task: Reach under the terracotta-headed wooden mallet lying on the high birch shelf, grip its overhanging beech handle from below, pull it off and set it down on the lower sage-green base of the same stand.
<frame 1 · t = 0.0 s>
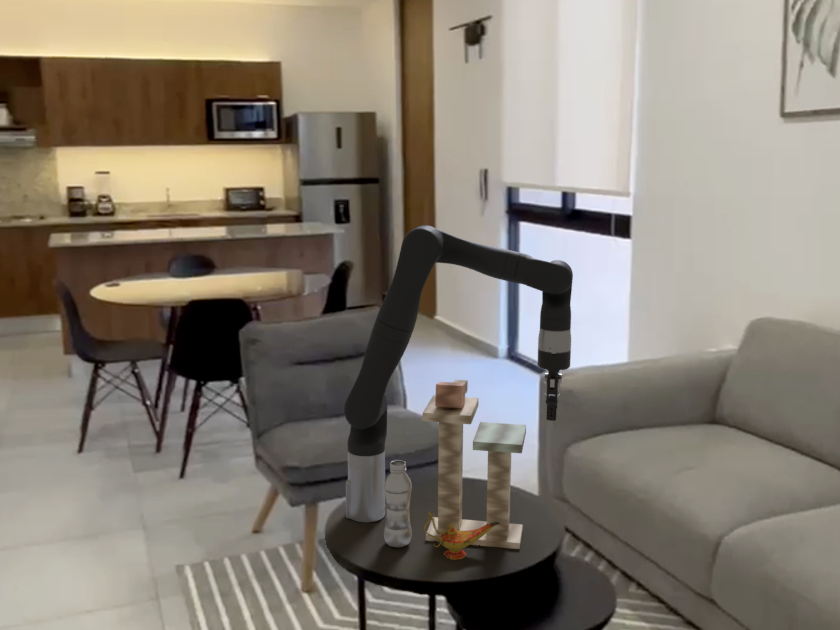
hand: (551, 414, 200), 29 cm above the table, tool pointing down, fingers open, 8 cm apart
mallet: (450, 405, 196), point 33 cm above the table, tilted 10°, touching stepped stand
stepped stand: (474, 535, 203), on the table
magic lamp: (461, 554, 194), on the table
plastic bottle: (397, 545, 198), on the table
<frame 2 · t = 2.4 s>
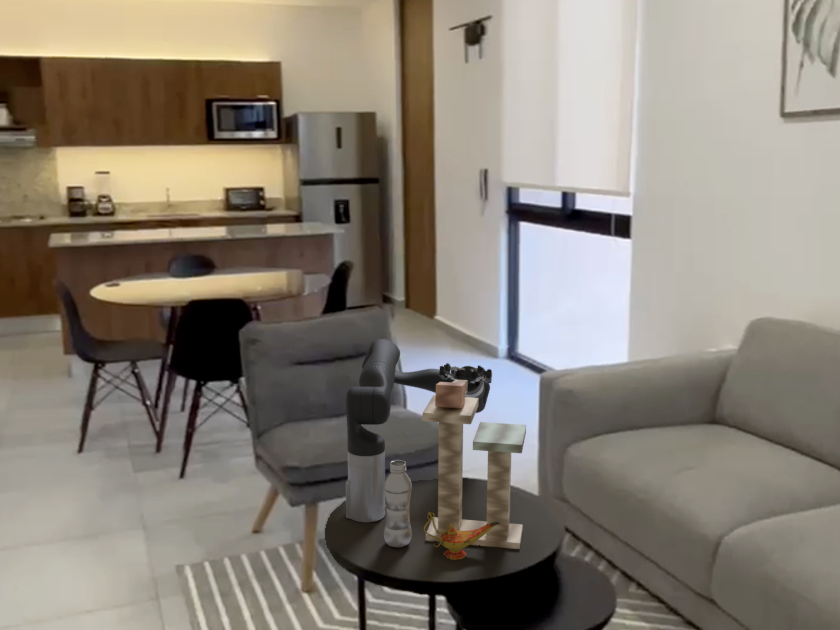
hand: (462, 367, 227), 33 cm above the table, tool pointing upward, fingers open, 8 cm apart
nothing on the table moved.
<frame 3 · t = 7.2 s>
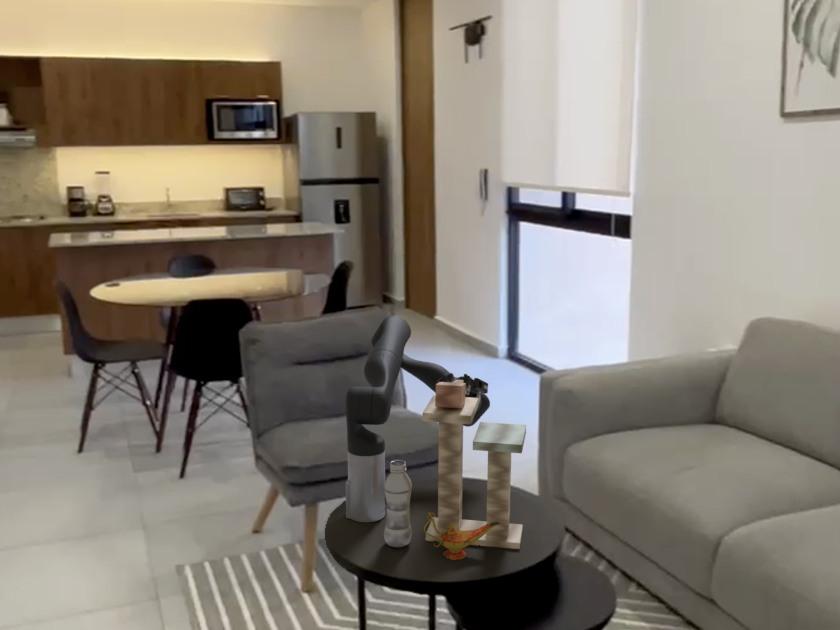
hand: (457, 377, 207), 36 cm above the table, tool pointing upward, fingers closed on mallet, 3 cm apart
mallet: (450, 405, 196), point 32 cm above the table, tilted 10°, touching gripper, stepped stand
everything else where it was.
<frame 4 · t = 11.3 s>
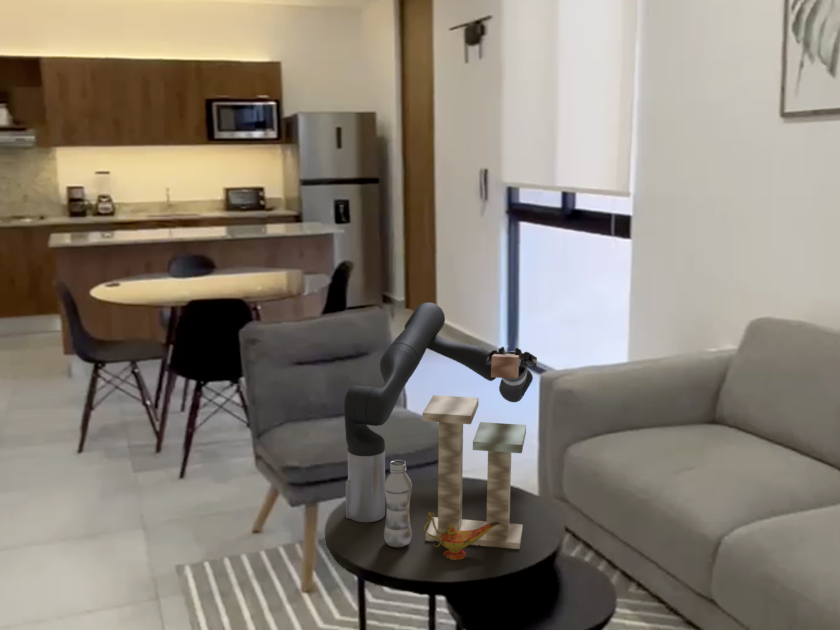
hand: (509, 350, 213), 41 cm above the table, tool pointing upward, fingers closed on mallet, 3 cm apart
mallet: (504, 376, 202), point 37 cm above the table, tilted 9°, touching gripper
everything else where it was.
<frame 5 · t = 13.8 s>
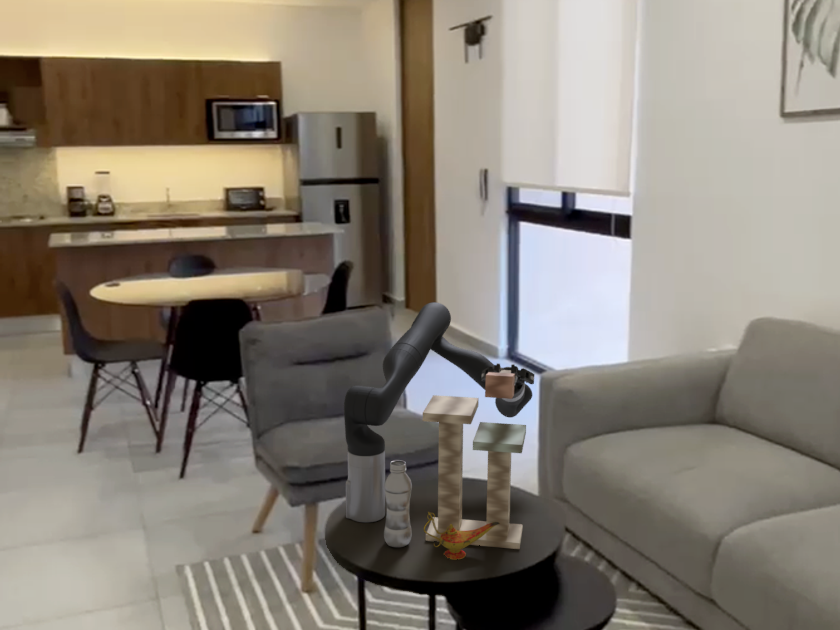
hand: (505, 367, 204), 39 cm above the table, tool pointing upward, fingers closed on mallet, 3 cm apart
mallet: (499, 396, 193), point 35 cm above the table, tilted 9°, touching gripper
everything else where it was.
when the fingers open (31 cm above the table, at t = 15.8 s): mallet stays where it is, resting on stepped stand.
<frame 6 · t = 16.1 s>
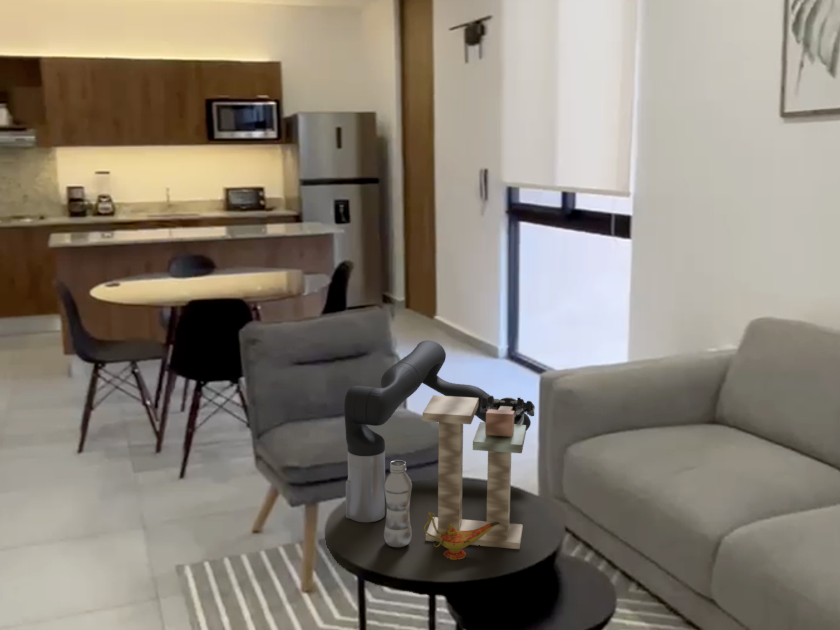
hand: (504, 400, 206), 31 cm above the table, tool pointing upward, fingers open, 6 cm apart
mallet: (499, 433, 195), point 27 cm above the table, tilted 10°, touching stepped stand
everything else where it was.
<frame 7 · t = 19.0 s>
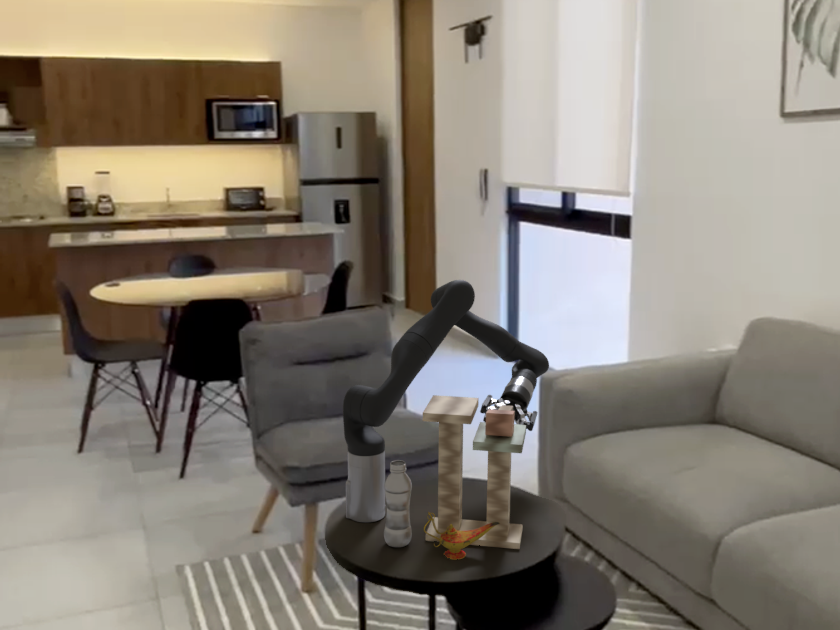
hand: (502, 427, 215), 21 cm above the table, tool horizontal, fingers open, 8 cm apart
nothing on the table moved.
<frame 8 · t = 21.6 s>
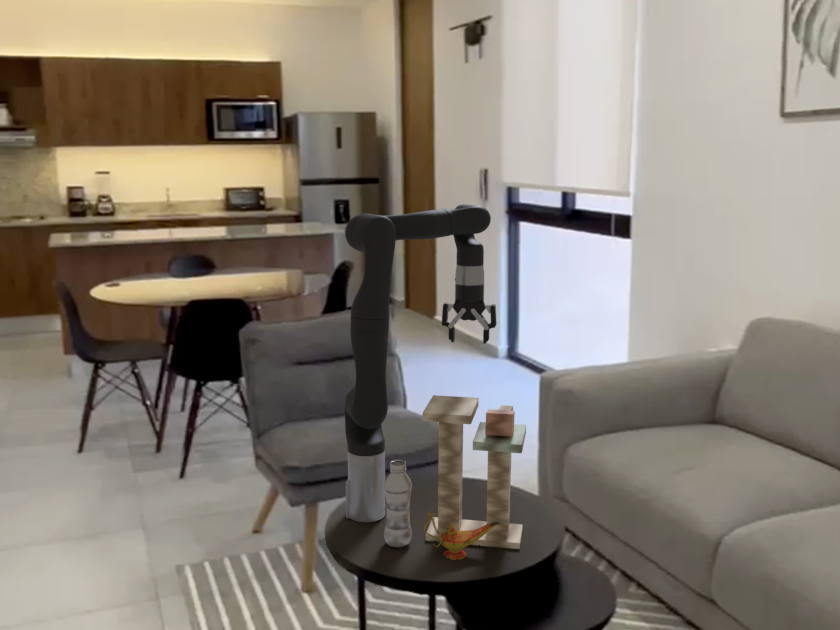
hand: (468, 342, 225), 40 cm above the table, tool pointing down, fingers open, 8 cm apart
nothing on the table moved.
at the end: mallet inside the target area (0.1 cm from its centre), point 26.5 cm above the table; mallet tilted 10°; the gripper is holding nothing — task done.
